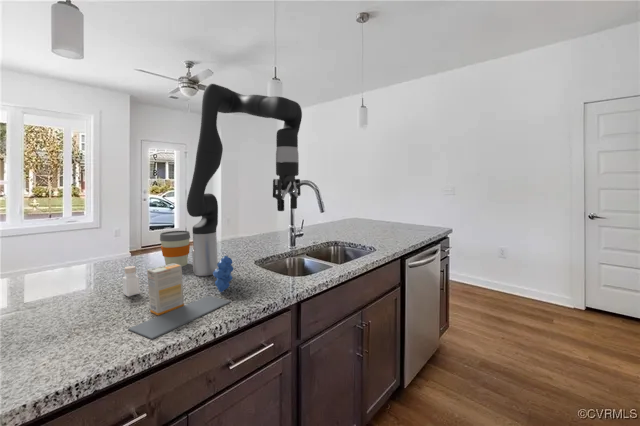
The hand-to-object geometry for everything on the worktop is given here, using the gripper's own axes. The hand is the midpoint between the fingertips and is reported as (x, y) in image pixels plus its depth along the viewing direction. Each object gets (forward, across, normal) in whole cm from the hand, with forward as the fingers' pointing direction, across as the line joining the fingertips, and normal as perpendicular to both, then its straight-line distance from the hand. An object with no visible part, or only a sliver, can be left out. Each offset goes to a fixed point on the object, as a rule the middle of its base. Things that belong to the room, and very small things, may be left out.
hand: (287, 209), depth 103 cm
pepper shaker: (+29, +24, -48) cm, 61 cm away
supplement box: (+29, +28, -26) cm, 48 cm away
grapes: (+29, +8, -22) cm, 37 cm away
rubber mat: (+29, +28, -18) cm, 44 cm away
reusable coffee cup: (+30, -8, -64) cm, 71 cm away
